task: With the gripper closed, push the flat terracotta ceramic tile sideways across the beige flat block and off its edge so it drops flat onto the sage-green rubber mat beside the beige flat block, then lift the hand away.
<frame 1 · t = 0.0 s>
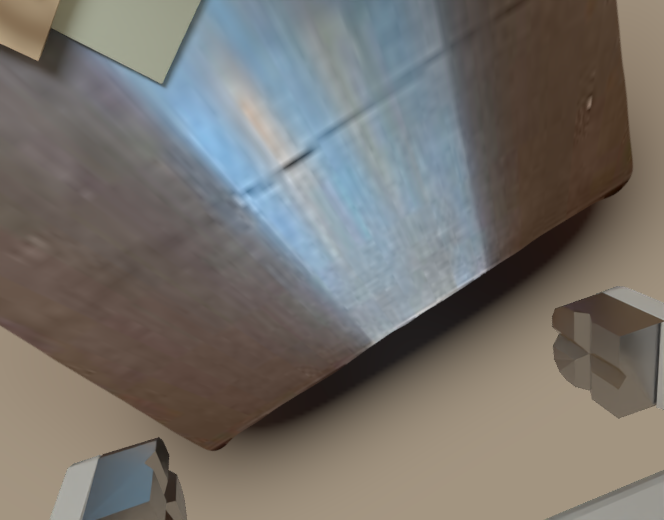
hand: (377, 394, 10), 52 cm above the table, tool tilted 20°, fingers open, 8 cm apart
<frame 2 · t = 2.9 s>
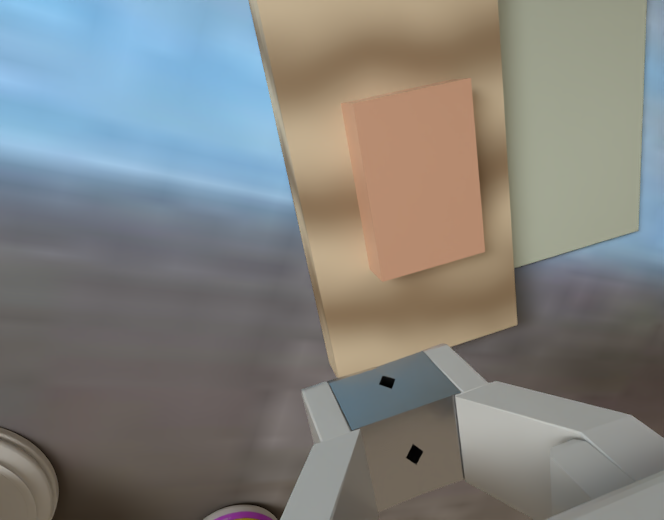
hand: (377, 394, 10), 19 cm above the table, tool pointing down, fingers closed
mat: (561, 130, 30), on the table
tile: (408, 178, 26), point 2 cm above the table, touching beige flat block
beige flat block: (391, 172, 28), on the table
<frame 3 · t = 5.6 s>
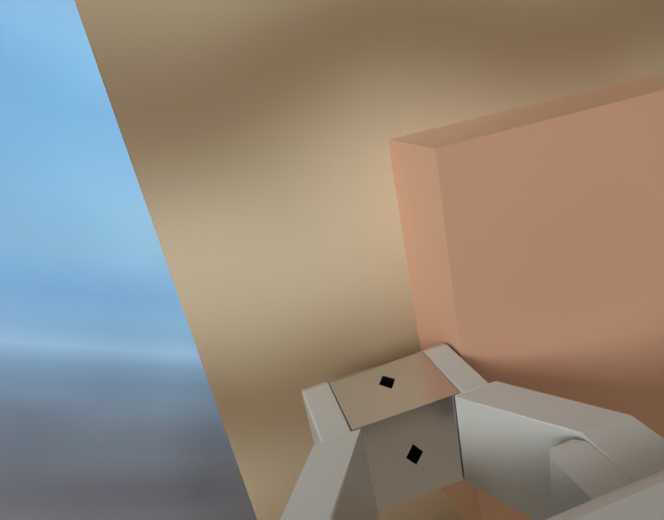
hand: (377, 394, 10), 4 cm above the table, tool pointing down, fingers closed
tile: (534, 301, 12), point 2 cm above the table, touching beige flat block, gripper
beige flat block: (427, 284, 13), on the table
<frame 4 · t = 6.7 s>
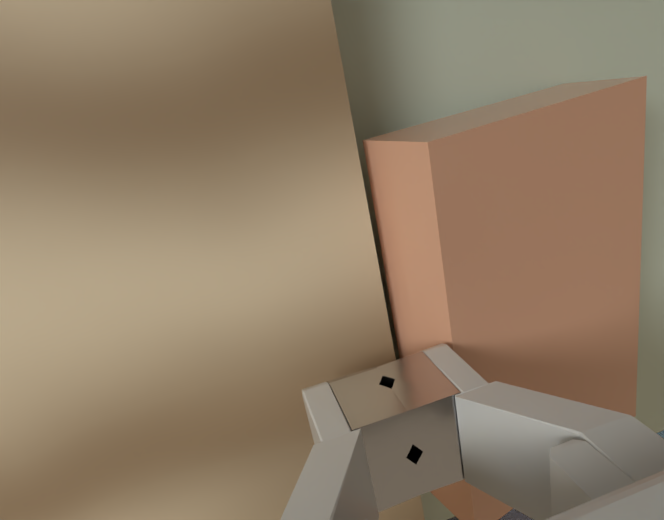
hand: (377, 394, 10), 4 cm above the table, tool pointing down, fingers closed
mat: (536, 247, 14), on the table
tile: (490, 289, 12), point 1 cm above the table, tilted 14°, touching gripper
beige flat block: (131, 373, 12), on the table
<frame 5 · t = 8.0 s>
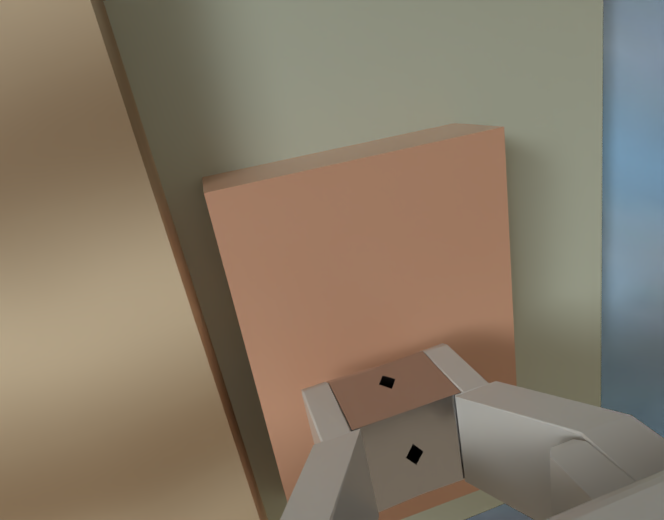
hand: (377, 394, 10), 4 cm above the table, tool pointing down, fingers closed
mat: (415, 293, 13), on the table
tile: (364, 323, 13), point 1 cm above the table, touching mat
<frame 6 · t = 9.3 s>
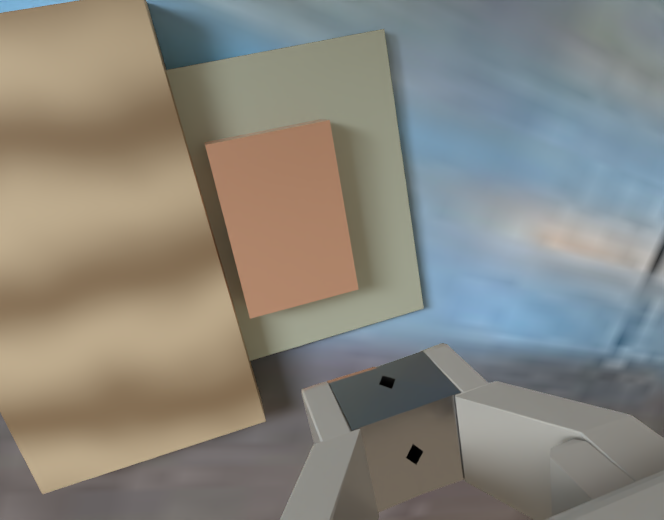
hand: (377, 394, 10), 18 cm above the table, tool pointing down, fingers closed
mat: (310, 203, 27), on the table
tile: (282, 215, 26), point 1 cm above the table, touching mat
beige flat block: (96, 257, 25), on the table
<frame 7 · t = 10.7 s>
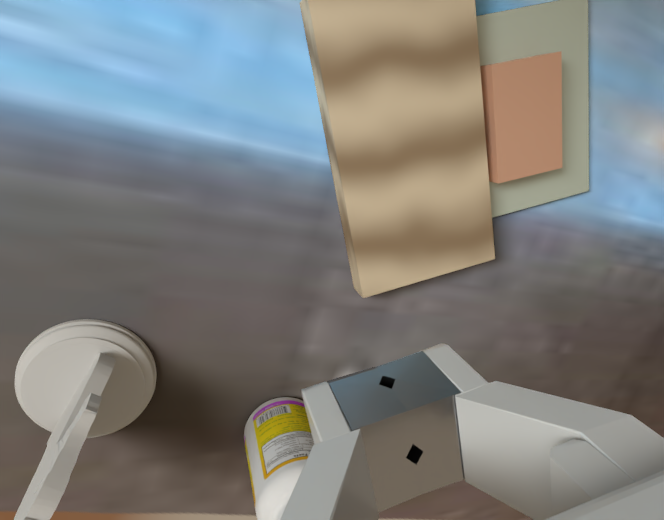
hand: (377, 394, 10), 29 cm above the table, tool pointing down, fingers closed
chess piece: (90, 375, 38), on the table
mat: (527, 112, 41), on the table
tile: (513, 118, 40), point 1 cm above the table, touching mat
supplement bottle: (280, 424, 44), on the table
beige flat block: (401, 142, 39), on the table
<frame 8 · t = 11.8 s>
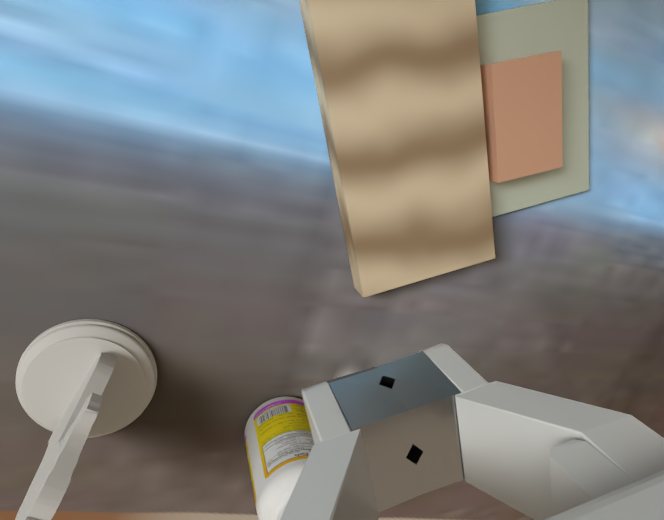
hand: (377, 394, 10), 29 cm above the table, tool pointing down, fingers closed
chess piece: (90, 375, 38), on the table
mat: (527, 111, 41), on the table
tile: (513, 117, 40), point 1 cm above the table, touching mat
supplement bottle: (280, 423, 44), on the table
beige flat block: (401, 142, 39), on the table
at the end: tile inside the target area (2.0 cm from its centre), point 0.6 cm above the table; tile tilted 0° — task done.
